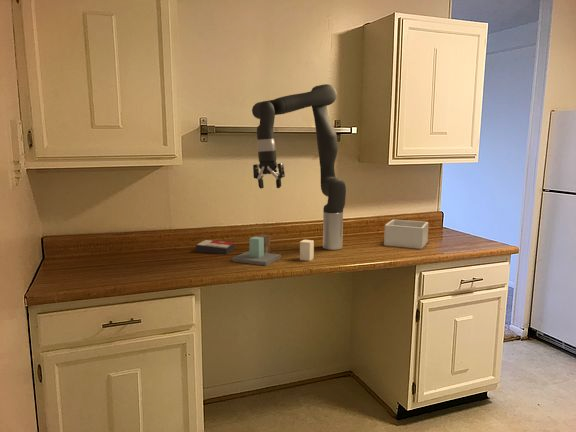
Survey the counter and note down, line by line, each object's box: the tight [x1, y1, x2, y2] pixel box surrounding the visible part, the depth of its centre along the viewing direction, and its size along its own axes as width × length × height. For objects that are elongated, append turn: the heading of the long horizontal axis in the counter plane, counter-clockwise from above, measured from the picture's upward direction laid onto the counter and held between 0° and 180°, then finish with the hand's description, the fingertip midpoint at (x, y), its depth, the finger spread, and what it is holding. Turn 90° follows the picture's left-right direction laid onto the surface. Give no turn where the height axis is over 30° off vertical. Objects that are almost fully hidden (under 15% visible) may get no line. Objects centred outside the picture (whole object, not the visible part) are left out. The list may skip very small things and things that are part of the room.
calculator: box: [195, 239, 236, 255], centre depth 217 cm, size 11×4×15 cm
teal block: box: [248, 236, 264, 258], centre depth 201 cm, size 4×4×8 cm
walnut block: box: [256, 233, 271, 253], centre depth 213 cm, size 4×4×8 cm
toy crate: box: [383, 219, 429, 250], centre depth 233 cm, size 18×18×10 cm
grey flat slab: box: [231, 250, 282, 267], centre depth 201 cm, size 14×16×2 cm
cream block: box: [299, 239, 315, 262], centre depth 202 cm, size 4×4×8 cm
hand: (270, 188), depth 201 cm, fingers open, 8 cm apart
